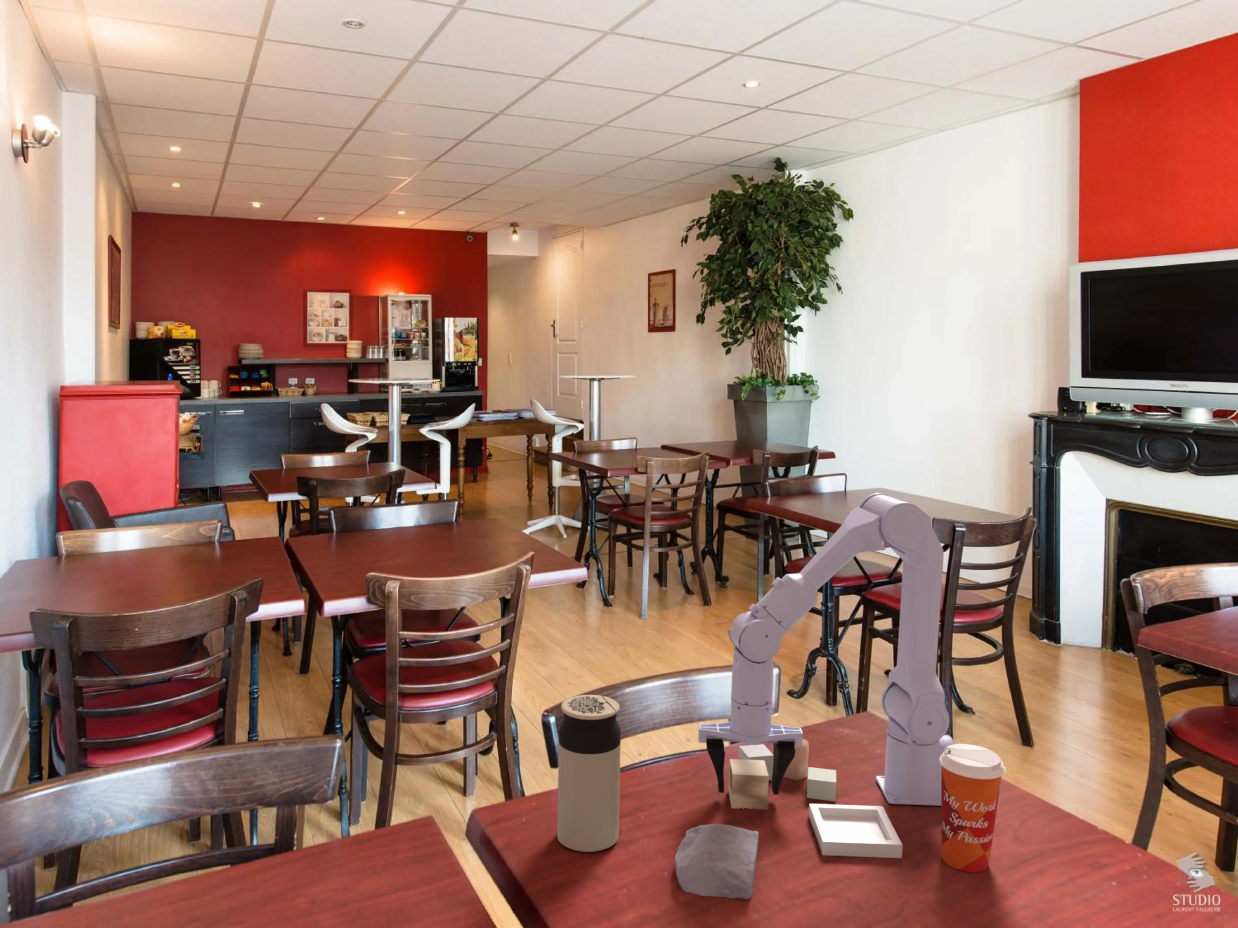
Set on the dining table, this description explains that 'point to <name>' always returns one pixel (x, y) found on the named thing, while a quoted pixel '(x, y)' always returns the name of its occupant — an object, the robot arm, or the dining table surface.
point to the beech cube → (748, 784)
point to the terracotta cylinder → (799, 763)
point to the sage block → (821, 784)
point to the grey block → (757, 755)
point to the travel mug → (589, 773)
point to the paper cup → (969, 805)
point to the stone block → (717, 861)
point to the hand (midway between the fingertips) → (747, 790)
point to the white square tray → (854, 831)
